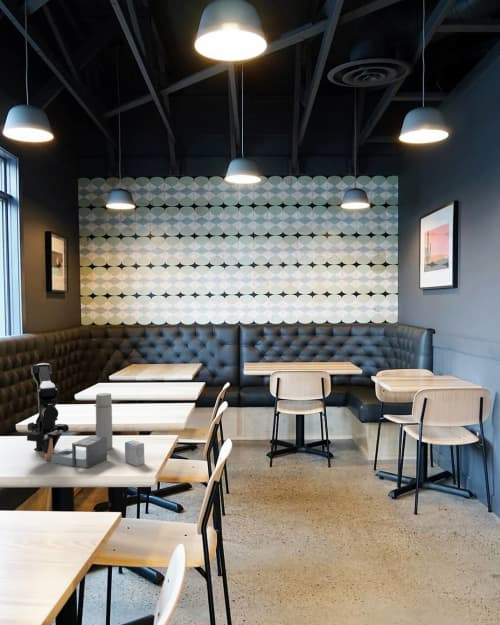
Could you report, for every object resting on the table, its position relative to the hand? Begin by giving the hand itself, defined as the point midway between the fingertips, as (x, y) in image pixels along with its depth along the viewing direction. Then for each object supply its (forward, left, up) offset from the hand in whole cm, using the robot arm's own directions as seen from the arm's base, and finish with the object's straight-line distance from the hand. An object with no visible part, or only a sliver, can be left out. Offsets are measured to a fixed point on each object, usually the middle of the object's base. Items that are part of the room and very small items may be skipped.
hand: (48, 452), depth 212 cm
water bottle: (-21, +12, -3) cm, 24 cm away
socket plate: (-2, +14, -3) cm, 14 cm away
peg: (0, 0, -3) cm, 3 cm away
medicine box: (-8, +38, -3) cm, 39 cm away
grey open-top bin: (-2, +20, -3) cm, 20 cm away
